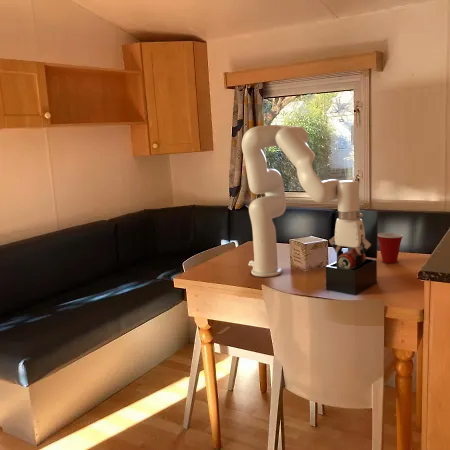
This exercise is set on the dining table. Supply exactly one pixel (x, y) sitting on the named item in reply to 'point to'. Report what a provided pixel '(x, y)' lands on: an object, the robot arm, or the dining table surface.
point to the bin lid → (370, 232)
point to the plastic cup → (389, 246)
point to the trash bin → (351, 277)
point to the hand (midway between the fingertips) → (349, 263)
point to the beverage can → (348, 259)
